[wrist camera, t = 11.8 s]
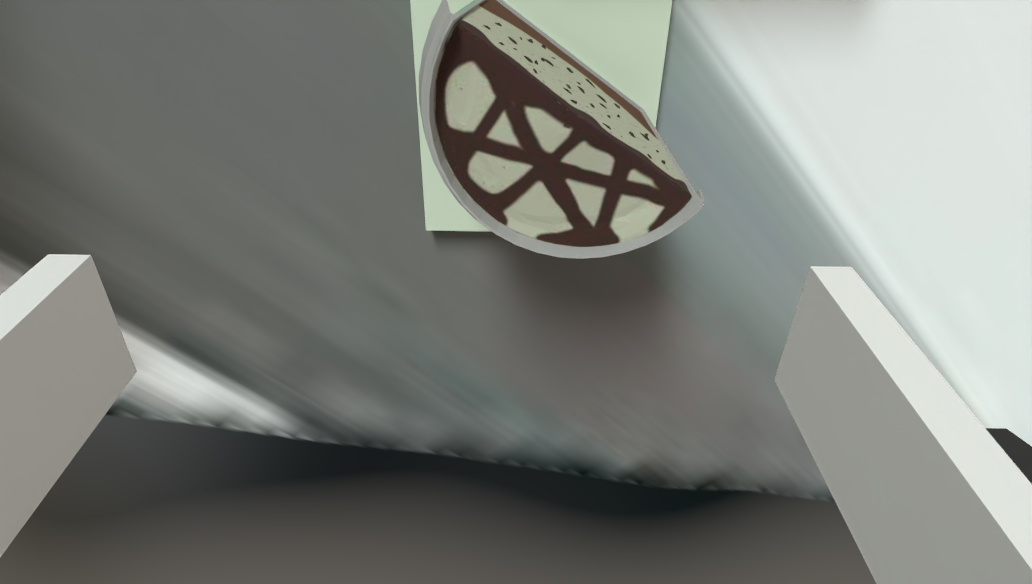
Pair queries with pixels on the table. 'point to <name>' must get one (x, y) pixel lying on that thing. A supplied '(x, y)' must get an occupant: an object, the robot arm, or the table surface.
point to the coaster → (584, 33)
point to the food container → (543, 140)
